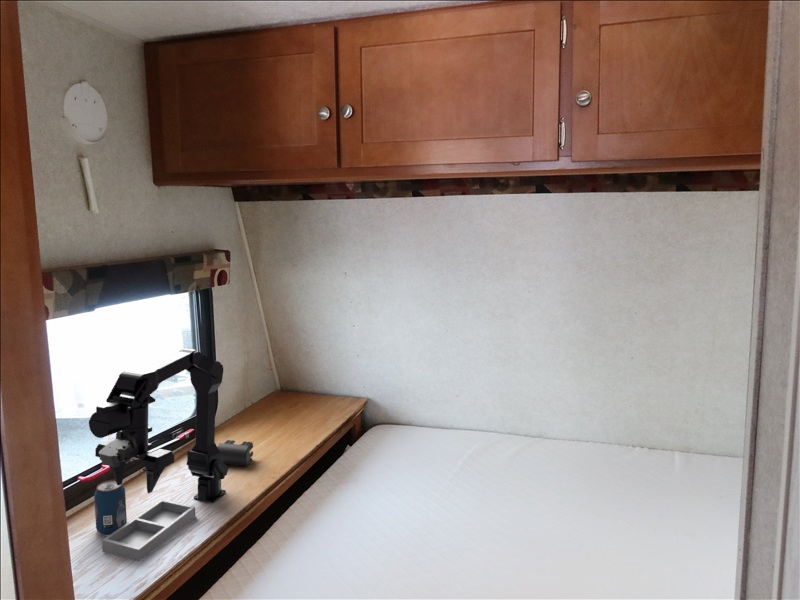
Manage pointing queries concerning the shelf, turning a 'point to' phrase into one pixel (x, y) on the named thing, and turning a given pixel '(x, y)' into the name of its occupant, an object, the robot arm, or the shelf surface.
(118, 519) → the soda can
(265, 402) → the shelf surface
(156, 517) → the can carrier
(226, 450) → the end cap
